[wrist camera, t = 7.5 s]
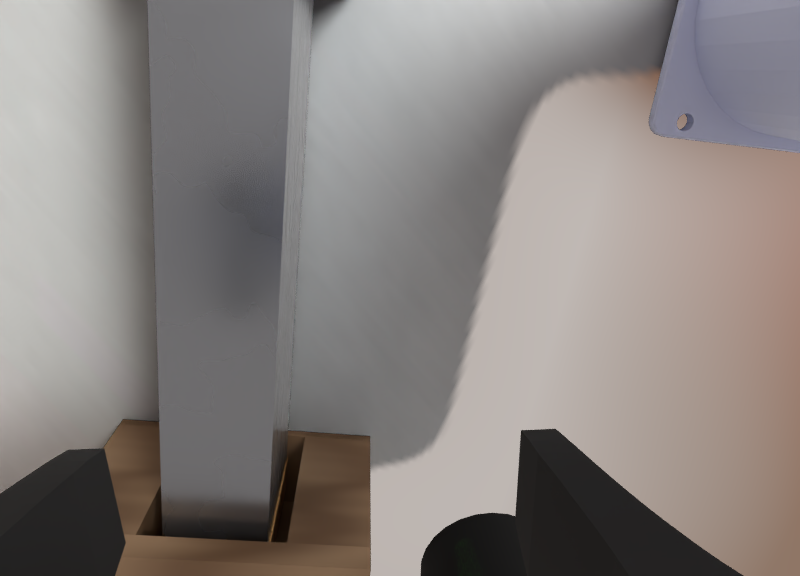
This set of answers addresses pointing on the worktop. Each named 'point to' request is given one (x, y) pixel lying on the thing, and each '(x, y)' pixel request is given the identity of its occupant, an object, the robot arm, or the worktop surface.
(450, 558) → the cup
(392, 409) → the worktop surface
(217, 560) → the socket
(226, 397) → the bar
